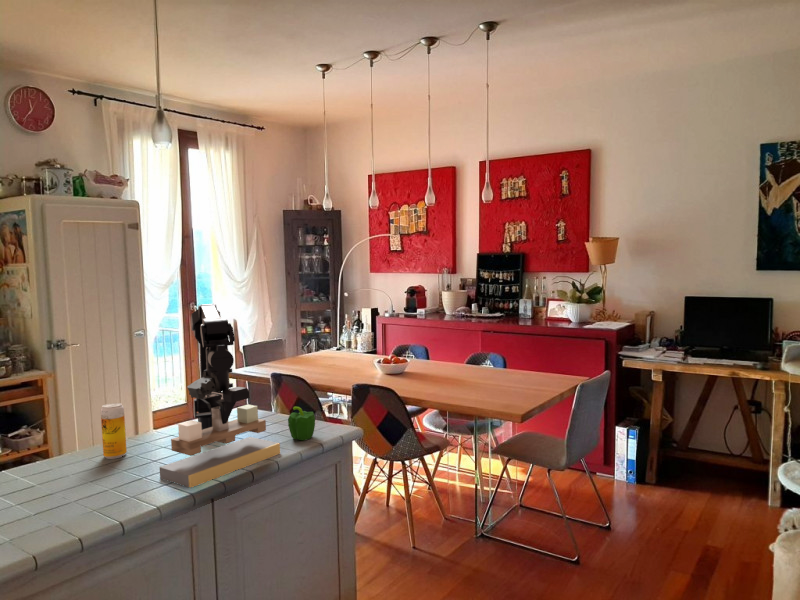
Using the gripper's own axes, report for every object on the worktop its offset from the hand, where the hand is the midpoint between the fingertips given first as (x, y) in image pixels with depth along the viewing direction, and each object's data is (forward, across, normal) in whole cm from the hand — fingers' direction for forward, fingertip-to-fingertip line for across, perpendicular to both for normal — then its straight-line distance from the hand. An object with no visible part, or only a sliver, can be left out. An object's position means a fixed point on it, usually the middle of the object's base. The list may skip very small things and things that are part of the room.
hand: (220, 422), depth 163 cm
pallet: (+5, 0, 0) cm, 5 cm away
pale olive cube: (+2, 0, +10) cm, 10 cm away
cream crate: (+2, 0, -10) cm, 10 cm away
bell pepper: (+12, +2, +29) cm, 31 cm away
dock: (+12, 0, 0) cm, 12 cm away
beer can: (+12, -34, -11) cm, 38 cm away
